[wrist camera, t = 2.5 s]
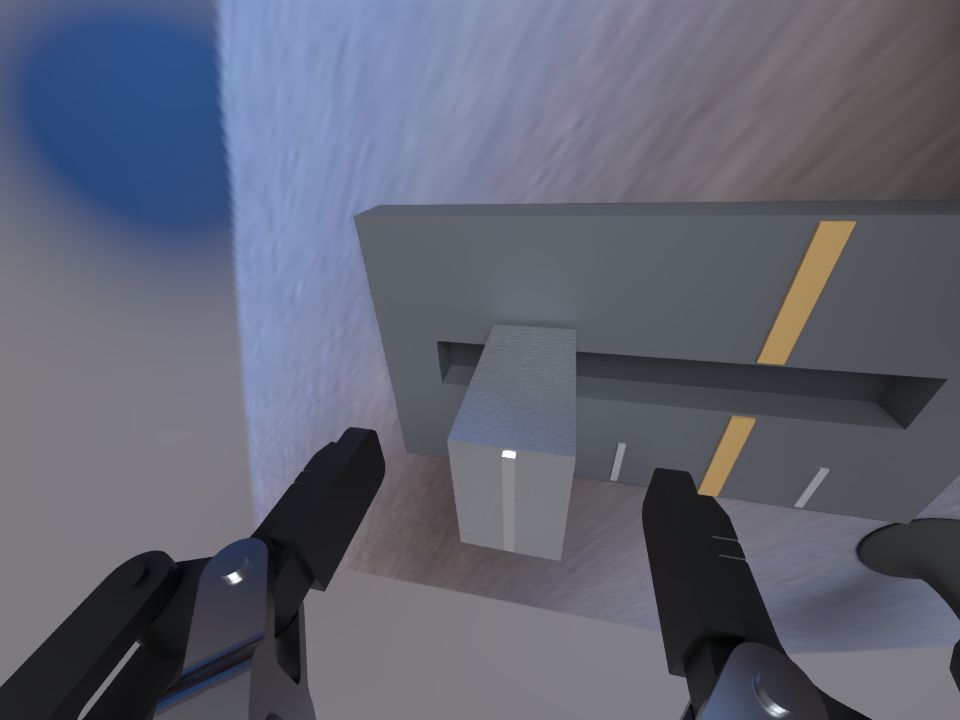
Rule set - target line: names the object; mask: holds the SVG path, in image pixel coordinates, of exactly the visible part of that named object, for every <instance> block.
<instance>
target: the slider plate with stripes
mask: <svg viewBox="0 0 960 720" xmlns="http://www.w3.org/2000/svg"><path fill="white" fill-rule="evenodd" d="M354 220H355V224H356V228H357V233H358V237H359V242H360V246H361V250H362V255H363V259H364V264H365V268H366V272H367V277H368V281H369V286H370V290H371V294H372V299H373V303H374V308H375V312H376V316H377V321H378V325H379V330H380V334H381V338H382V343H383V347H384V351H385V356H386V360H387V365H388V369H389V373H390V378H391V382H392V387H393V391H394V395H395V400H396V404H397V409H398V413H399V417H400V422H401V426H402V431H403V435H404V439H405V444H406V448H407V452H412V453H419V454H426V455H432V456H439V457H446V458H449V451H448V444H447V439H448V436H449V434H450V431H451V429H452V426H453V424H454V422H455V419H456V417H457V414H458V412H459V409H460V407H461V404H462V402H463V399H464V397H465V394H466V392H467V389H468V387H469V384H470V382H471V379H472V377H473V375H474V372H475V370H476V367H477V365H478V362H479V360H480V357H481V355H482V352H483V350H484V347H485V345H486V342H487V340H488V337H489V335H490V332H491V330H492V328H493V325H494V324H495V325H511V326H528V327H544V328H560V329H576V460H575V467H574V474H573V476H577V477H584V478H591V479H598V480H605V481H612V482H619V483H626V484H633V485H640V486H646V487H649V485H650V482H651V479H652V476H653V473H654V470H655V469H656V468H665V469H673V470H680V471H687V472H689V473H690V474H691V476H692V478H693V481H694V484H695V487H696V490H697V492H698V494H702V495H709V496H715V497H722V498H729V499H736V500H743V501H750V502H757V503H764V504H771V505H778V506H785V507H791V508H798V509H805V510H812V511H819V512H826V513H833V514H840V515H847V516H854V517H860V518H867V519H874V520H881V521H888V522H895V523H902V524H909V523H910V522H911V521H912V520H913V519H914V518H915V517H916V516H917V515H918V514H919V513H920V512H921V511H922V510H923V509H924V508H925V507H926V506H928V505H929V504H930V503H931V502H932V501H933V500H934V499H935V498H936V497H937V496H938V495H939V494H940V493H941V492H942V491H943V490H944V489H945V488H946V487H947V486H948V485H949V484H951V483H952V482H953V481H954V480H955V479H956V478H957V477H958V476H959V475H960V200H919V201H810V202H700V203H591V204H482V205H379V206H377V207H374V208H372V209H370V210H367V211H365V212H363V213H360V214H358V215H356V216H354Z"/></svg>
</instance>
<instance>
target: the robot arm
mask: <svg viewBox="0 0 960 720" xmlns="http://www.w3.org/2000/svg"><path fill="white" fill-rule="evenodd" d="M384 474H385V461H384V457H383V454H382V450H381V446H380V443H379V439H378V435H377V433H376V431H375V430H371V429H363V428H355V427H350V428H348V429H347V430H346V431H345V432H344V433H343V435H342V436H341V438H340V439H339V440H338V442H337V443H335V442H330V443H329V444H328V445H326V446H325V447H324V448H322V449H321V450H320V451H318V452H317V453H316V454H315V455H314V456H313V457H312V459H311V460H310V461H309V463H308V464H307V465H306V466H305V468H304V471H303V472H301V473H300V474H299V476H298V477H297V478H296V479H295V482H294V484H292V485H291V486H290V487H289V488H288V490H287V491H286V492H285V494H284V495H283V496H282V497H281V499H280V500H279V501H278V503H277V504H276V505H275V507H274V508H273V509H272V510H271V512H270V513H269V514H268V516H267V517H266V518H265V519H264V521H263V522H262V523H261V525H260V526H259V527H258V529H257V530H256V531H255V532H254V533H253V534H252V536H251V537H249V538H245V539H241V540H238V541H235V542H233V543H231V544H229V545H228V546H226V547H225V548H223V549H222V550H220V551H219V552H218V553H217V554H216V555H215V556H213V557H208V558H201V559H194V560H188V561H181V562H174V561H173V559H172V558H171V557H170V556H169V555H168V554H166V553H165V552H163V551H149V552H145V553H142V554H140V555H137V556H135V557H133V558H131V559H129V560H128V561H126V562H124V563H123V564H122V565H120V566H119V567H118V568H116V569H115V570H114V571H113V572H112V573H111V574H109V575H108V576H107V577H106V578H105V580H103V582H102V583H101V584H100V585H99V586H98V587H97V588H96V589H95V590H94V591H93V592H92V593H91V594H90V595H89V596H88V597H87V598H86V599H85V600H84V601H83V602H82V603H81V604H80V605H79V607H77V609H76V610H75V611H74V612H73V613H72V614H71V615H70V616H69V617H68V618H67V619H66V620H65V621H64V622H63V623H62V624H61V625H60V626H59V627H58V628H57V629H56V630H55V631H54V632H53V633H52V634H51V635H50V636H49V637H48V639H47V640H46V641H45V642H44V643H43V644H42V645H41V646H40V647H39V648H38V649H37V650H36V651H35V652H34V653H33V654H32V655H31V656H30V657H29V658H28V659H27V661H25V662H24V663H23V664H22V666H20V668H19V669H18V670H17V671H16V672H15V673H14V674H13V675H12V676H11V677H10V678H9V679H8V680H7V681H6V682H5V683H4V684H3V685H2V686H1V687H0V720H77V719H78V716H79V715H80V712H81V711H82V709H83V708H84V706H85V705H86V704H87V702H88V701H89V700H90V699H91V697H92V696H93V695H94V693H95V692H96V691H97V690H98V688H99V687H100V686H101V685H102V683H103V682H104V681H105V680H106V678H107V677H108V676H109V674H110V673H111V672H112V671H113V669H114V668H115V667H116V666H117V664H118V663H119V661H121V659H122V658H123V657H124V655H125V654H126V653H127V652H128V650H129V649H130V648H131V646H132V645H133V644H134V643H135V642H137V643H139V644H140V646H139V647H138V649H137V650H136V651H135V652H134V654H133V655H132V656H131V658H130V659H129V660H128V662H127V663H126V664H125V665H124V667H123V668H122V669H121V671H120V672H119V673H118V674H117V676H116V677H115V678H114V680H113V681H112V682H111V684H110V685H109V686H108V687H107V689H106V690H105V691H104V692H103V694H102V695H101V696H100V698H99V699H98V700H97V702H96V703H95V704H94V705H93V707H92V708H91V709H90V711H89V712H88V713H87V714H86V716H85V717H84V718H83V719H82V720H316V716H315V711H314V706H313V702H312V699H311V696H310V693H309V688H308V680H307V679H308V678H307V658H306V639H305V638H306V636H305V615H304V603H303V600H304V598H305V596H306V594H307V592H308V591H309V589H310V588H311V589H316V590H320V591H325V590H326V588H327V586H328V584H329V582H330V580H331V579H332V577H333V575H334V572H335V571H336V569H337V567H338V565H339V563H340V561H341V559H342V558H343V556H344V554H345V552H346V550H347V548H348V546H349V544H350V542H351V540H352V539H353V537H354V535H355V533H356V531H357V529H358V527H359V525H360V523H361V521H362V520H363V518H364V516H365V514H366V512H367V510H368V508H369V506H370V504H371V502H372V501H373V499H374V497H375V495H376V493H377V491H378V489H379V487H380V485H381V483H382V481H383V478H384ZM642 522H643V529H644V535H645V541H646V546H647V552H648V558H649V563H650V569H651V574H652V580H653V586H654V591H655V597H656V602H657V608H658V614H659V619H660V625H661V630H662V636H663V641H664V647H665V652H666V658H667V664H668V669H669V674H672V675H677V676H681V677H685V678H686V679H687V684H688V689H689V694H690V700H689V702H688V704H687V706H686V708H685V710H684V712H683V714H682V716H681V718H680V720H872V719H870V718H868V717H866V716H864V715H863V714H861V713H859V712H857V711H855V710H853V709H851V708H850V707H847V706H846V705H844V704H842V703H840V702H838V701H837V700H835V699H833V698H832V697H830V696H829V695H827V694H826V693H824V692H823V691H822V690H820V689H819V688H818V687H816V686H815V685H814V684H813V683H812V681H811V680H810V679H809V678H808V677H807V675H806V674H805V673H804V672H803V671H802V670H801V669H800V668H799V667H798V666H797V665H796V664H795V663H794V662H793V661H792V660H790V658H789V657H788V655H787V654H786V652H785V651H784V649H783V647H782V646H781V644H780V642H779V639H778V637H777V635H776V632H775V630H774V627H773V625H772V622H771V620H770V617H769V615H768V612H767V610H766V607H765V605H764V602H763V600H762V597H761V595H760V593H759V590H758V588H757V585H756V583H755V580H754V578H753V575H752V573H751V570H750V568H749V565H748V563H747V562H746V561H745V555H744V553H743V550H742V548H741V545H740V543H738V538H737V535H736V533H735V530H734V528H733V525H732V523H731V520H730V518H729V516H728V515H727V514H726V512H725V511H724V510H723V509H722V508H721V506H720V505H719V504H718V503H717V502H716V500H715V499H714V498H713V497H712V496H705V495H698V492H697V490H696V487H695V484H694V481H693V478H692V476H691V474H690V473H689V472H687V471H680V470H673V469H665V468H656V469H655V470H654V473H653V476H652V479H651V482H650V485H649V487H648V490H647V493H646V496H645V499H644V503H643V509H642Z"/></svg>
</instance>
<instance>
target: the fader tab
mask: <svg viewBox="0 0 960 720" xmlns="http://www.w3.org/2000/svg"><path fill="white" fill-rule="evenodd" d="M447 444H448V451H449V458H450V466H451V473H452V480H453V488H454V495H455V502H456V510H457V517H458V524H459V532H460V539H461V542H463V543H468V544H473V545H478V546H484V547H489V548H494V549H499V550H504V551H509V552H514V553H520V554H525V555H530V556H535V557H540V558H545V559H550V560H555V561H561V556H562V549H563V542H564V535H565V528H566V522H567V515H568V508H569V501H570V494H571V488H572V481H573V474H574V467H575V460H576V329H560V328H544V327H528V326H511V325H495V324H494V325H493V328H492V330H491V332H490V335H489V337H488V340H487V342H486V345H485V347H484V350H483V352H482V355H481V357H480V360H479V362H478V365H477V367H476V370H475V372H474V375H473V377H472V379H471V382H470V384H469V387H468V389H467V392H466V394H465V397H464V399H463V402H462V404H461V407H460V409H459V412H458V414H457V417H456V419H455V422H454V424H453V426H452V429H451V431H450V434H449V436H448V439H447Z"/></svg>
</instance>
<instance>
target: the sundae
mask: <svg viewBox="0 0 960 720" xmlns="http://www.w3.org/2000/svg"><path fill="white" fill-rule="evenodd" d="M858 552H859V557H860V559H861V561H862V562H863V563H864V564H866V565H867V566H868V567H869V568H871V569H873V570H874V571H876V572H879V573H882V574H885V575H889V576H894V577H901V578H911V579H922V580H923V581H925V582H926V583H928V584H929V585H930V586H931V587H932V588H933V589H934V590H935V591H936V592H937V593H938V594H939V595H940V596H941V597H942V598H943V599H944V600H945V601H946V603H947V604H948V605H949V606H950V608H951V609H952V610H953V612H954V613H955V614H956V616H957V617H958V618H959V620H960V520H951V519H920V520H912V521H911V522H910V523H909V524H902V523H897V524H893V525H890V526H887V527H884V528H881V529H879V530H878V531H876V532H874V533H872V534H871V535H869V536H868V537H867V538H865V540H864V541H863V542H862V544H861V546H860V548H859V550H858ZM950 671H951V673H952V676H953V678H954V680H955V683H956V685H957V687H958V689H959V691H960V639H959V641H958V642H957V643H956V644H955V646H954V650H953V654H952V658H951V663H950Z"/></svg>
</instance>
